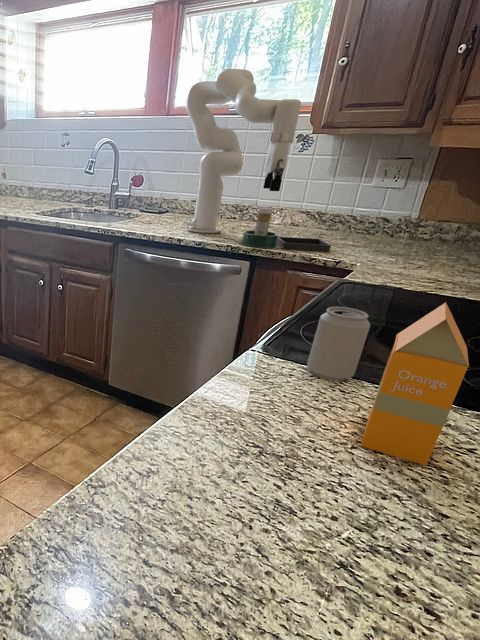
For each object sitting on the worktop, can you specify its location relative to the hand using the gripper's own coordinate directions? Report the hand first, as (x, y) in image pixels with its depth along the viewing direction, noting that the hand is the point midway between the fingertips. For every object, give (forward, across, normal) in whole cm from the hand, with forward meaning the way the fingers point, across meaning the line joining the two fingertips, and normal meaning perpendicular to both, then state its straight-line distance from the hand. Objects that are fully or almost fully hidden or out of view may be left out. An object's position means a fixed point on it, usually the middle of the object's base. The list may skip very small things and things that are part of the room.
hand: (271, 189), depth 190 cm
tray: (+20, 0, +15) cm, 25 cm away
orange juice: (+22, +141, -10) cm, 143 cm away
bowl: (+20, 0, 0) cm, 20 cm away
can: (+22, +119, -12) cm, 121 cm away
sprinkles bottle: (+20, 0, 0) cm, 20 cm away
